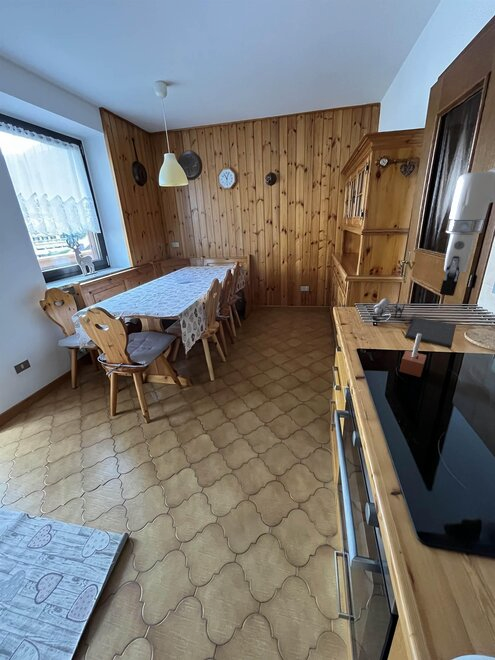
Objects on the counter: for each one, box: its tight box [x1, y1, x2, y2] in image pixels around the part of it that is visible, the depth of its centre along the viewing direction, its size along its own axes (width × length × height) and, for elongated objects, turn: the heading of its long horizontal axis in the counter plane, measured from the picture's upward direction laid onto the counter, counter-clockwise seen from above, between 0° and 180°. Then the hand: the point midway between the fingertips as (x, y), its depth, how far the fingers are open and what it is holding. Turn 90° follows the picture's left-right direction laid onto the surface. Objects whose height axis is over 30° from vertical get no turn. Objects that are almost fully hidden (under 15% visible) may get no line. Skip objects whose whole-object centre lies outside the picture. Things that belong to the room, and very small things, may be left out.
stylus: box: [411, 333, 422, 359], centre depth 89 cm, size 1×1×13 cm
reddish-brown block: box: [398, 349, 427, 378], centre depth 91 cm, size 6×6×5 cm
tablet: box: [404, 316, 457, 349], centre depth 113 cm, size 16×20×1 cm
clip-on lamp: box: [369, 298, 406, 323], centre depth 127 cm, size 12×6×18 cm
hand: (448, 289), depth 80 cm, fingers open, 9 cm apart
